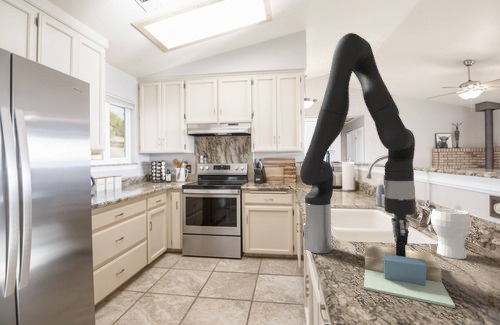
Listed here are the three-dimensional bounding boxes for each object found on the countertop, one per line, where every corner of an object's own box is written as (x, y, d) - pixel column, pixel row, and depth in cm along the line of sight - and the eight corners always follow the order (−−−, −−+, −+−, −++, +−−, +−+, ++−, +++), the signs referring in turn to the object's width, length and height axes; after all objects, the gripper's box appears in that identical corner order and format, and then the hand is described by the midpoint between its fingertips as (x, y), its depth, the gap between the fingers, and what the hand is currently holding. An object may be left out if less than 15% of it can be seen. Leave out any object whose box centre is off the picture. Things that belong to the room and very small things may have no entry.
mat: (363, 289, 60) (363, 286, 60) (365, 271, 70) (365, 269, 70) (455, 308, 51) (455, 305, 51) (442, 284, 61) (441, 282, 61)
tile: (383, 272, 66) (384, 278, 64) (384, 254, 64) (384, 259, 62) (423, 278, 62) (425, 285, 60) (424, 259, 60) (426, 265, 58)
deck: (365, 270, 70) (364, 257, 70) (366, 256, 81) (365, 244, 81) (441, 284, 62) (441, 268, 62) (431, 266, 72) (431, 253, 72)
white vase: (432, 247, 88) (431, 207, 89) (470, 253, 82) (469, 210, 82) (431, 255, 80) (430, 211, 80) (474, 263, 74) (472, 215, 74)
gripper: (382, 193, 75) (384, 247, 75) (385, 198, 63) (387, 263, 63) (411, 194, 72) (412, 251, 72) (419, 200, 60) (421, 268, 60)
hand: (400, 256), depth 67 cm, fingers closed
